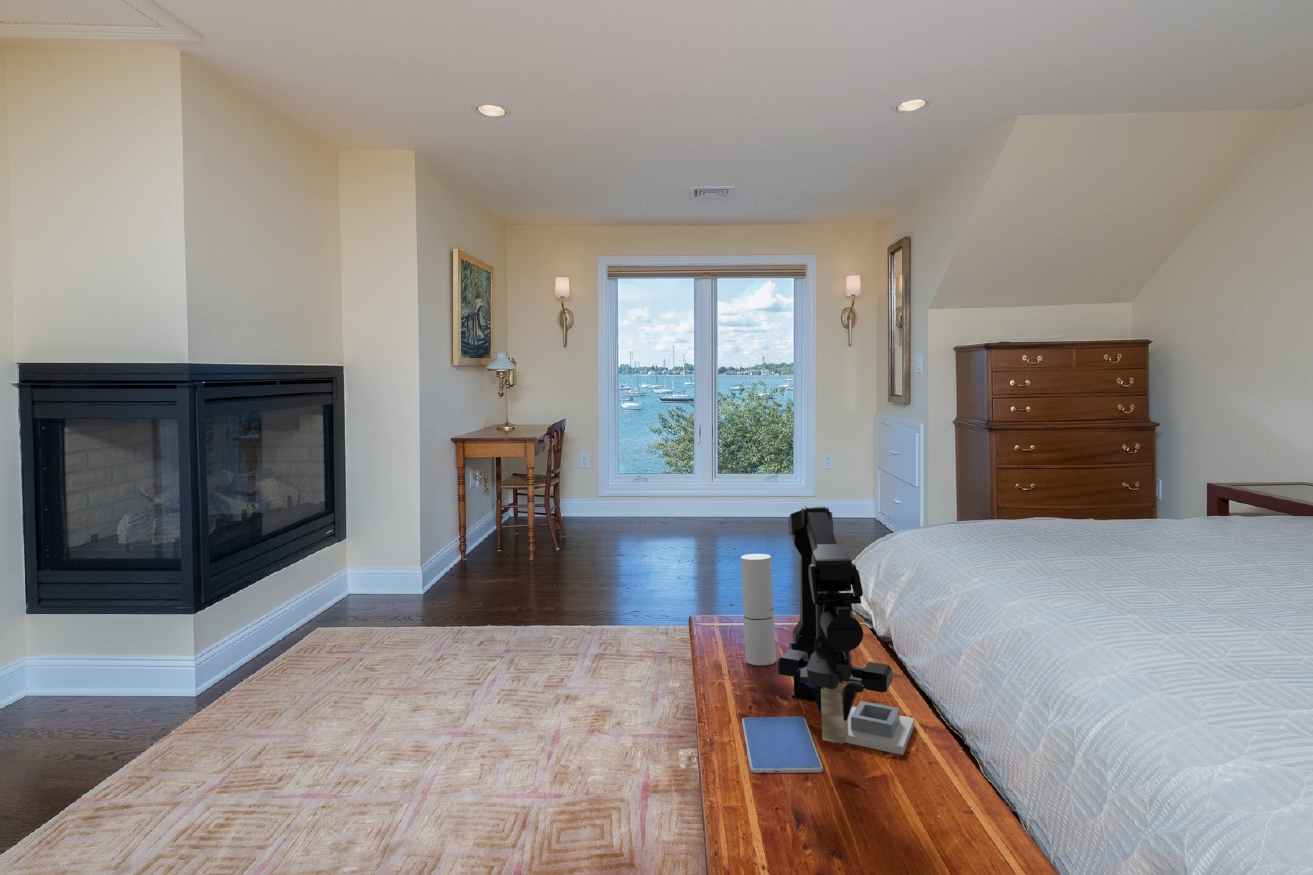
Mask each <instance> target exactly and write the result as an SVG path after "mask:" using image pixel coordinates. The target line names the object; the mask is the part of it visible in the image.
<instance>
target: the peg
mask: <svg viewBox="0 0 1313 875" xmlns="http://www.w3.org/2000/svg"><path fill="white" fill-rule="evenodd" d="M846 684H847V683H840V682H838V686H837V688H835V689H827V688H826V687H822V688H821V712H822V716H821V733H822V736H821V737H822V741H826V742H832V743H837V744H842V745H844V744H845V743H846V742H845V740H846V738H847V736H848V719H847V721H844V703H845V690H844V688H845V686H846Z"/></svg>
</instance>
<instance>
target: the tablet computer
mask: <svg viewBox="0 0 1313 875" xmlns="http://www.w3.org/2000/svg"><path fill="white" fill-rule="evenodd" d="M741 724H742V730H743V731H742V732H743V736H744V741H745V747H746V753H747V759H748V765H749V766H748V767H749V770H750V772H751V773H753V774H763V773H764V774H767V773H768V774H772V773H773V774H774V773H775V774H779V773H780V774H782V773H784V774H787V773H789V774H790V773H793V774H794V773H796V774H797V773H822V772H823V771H824V766H823V764H822V761H821V758H820V756H819V754H818V750H817V747H816V745H815V742H814V739H813V737H812V734H811V731H810V728H809V725H808V723H807V720H806V718H805V717H804V716H759V717H757V716H756V717H751V716H749V717H743V718H742V719H741Z"/></svg>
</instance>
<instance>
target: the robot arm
mask: <svg viewBox="0 0 1313 875" xmlns="http://www.w3.org/2000/svg"><path fill="white" fill-rule="evenodd" d="M833 519H834V518H833V512H831V511H830V509H829V507H826V506H823V505H822V506H805V507H802V508H801V509H800V510H799V511H795V512H792V513H790V514H789V516H788V521H787V524H788V525H787V526H788V534H789V535H790V536H791V541H792V543H793V545H794V547H795V548H796V550H797V552H799V611H800V612H799V613H800V615H799V621H798V623H796V625H795V627H794V628H793V630H792V640H791V641H790V642H789V646H788V649H787V650H785V652H784V653H783V654H782V655H781V656H780V657H779V658H778V659H777V662H776V663H777V664H776V672H777V674H778V675H779V676H780V675H781V676H785V677H791V678H792V677H793V691H792V693H791V698H795V699H796V698H797V699H801V700H806V701H811V702H815V703H816V706H817V709H818V711H819V714H820V716H821V717H822V712H821V688H822V687H826V688H827V689H835V688H837V686H838V683H841V684H843V682H845V684H846V686H845V688H844V690H845V703H844V721H847V719H848V717H849V714H850V711H851V708H852V706H853V705H854V702H855V700H856V697H857V694H859V693H860V694H861V693H863V692H864V691H865V690H866V691H871V692H878V693H883V694H884V693H887V691H888V690H889V688H890V686H891V684H892V683H893V677H894V676H893V669H892V667H891V666H890V664H886V663H879V662H873V661H868V662H867V664H866V665H865V666H864V667H863V666H854V665H852V660H853V656H852V652H851V651H853V650H856V649H857V648H858V647H859V646H860V644H861V643H862V641H863V638H864V630H863V626H862V625H861V623H860V622H859V620H858V619H857V617H856V616H855V614H854V612H853V605H854V604H857V605H858V604H862V599H861V598H862V597H863V593H864V591H863V587H862V580H861V577H860V576H861V575H860V571H859V570H858V569H857V565H856V564H855V563H853V562H852V558H851V557H850V554H849V552H848V551H846V550H844V549H842V548H840V547H839V546H838V543H837V540H836V537H835V534H834V520H833ZM851 591H852V592H851Z"/></svg>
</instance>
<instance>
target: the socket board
mask: <svg viewBox="0 0 1313 875" xmlns="http://www.w3.org/2000/svg"><path fill="white" fill-rule="evenodd" d="M900 709H901V708H900V707H895V706H892V705H891V706H890V705H884V704H881V703H880V704H879V703H874V702H868V701H863V700H860V701H859V703H858V704H857V706H853V705H852V708H851V711H850V714H849V717H848V736H847V738H846V740H845V742H844V743H846V744H851V745H855V746H859V747H864V748H865V747H866V748H869V749H874V750H878V751H883V752H886V753H887V752H888V753H893V754H896V755H902V756H903V755H904V753H905V752H906V748H907V746H908V743H909V740H910V738H911V736H912V733H913V731H914V729H915V728H914V727H915V720H916V719H915V717H912V716H911V717H909V716H906V715H901V713H900V712H901V710H900Z"/></svg>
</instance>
